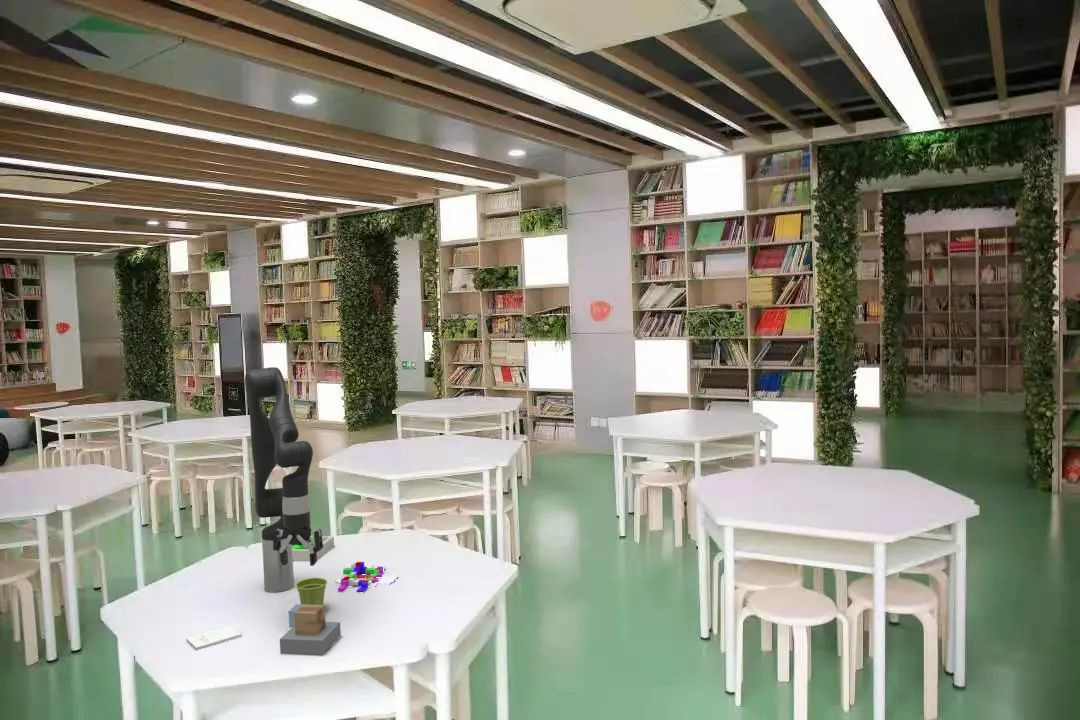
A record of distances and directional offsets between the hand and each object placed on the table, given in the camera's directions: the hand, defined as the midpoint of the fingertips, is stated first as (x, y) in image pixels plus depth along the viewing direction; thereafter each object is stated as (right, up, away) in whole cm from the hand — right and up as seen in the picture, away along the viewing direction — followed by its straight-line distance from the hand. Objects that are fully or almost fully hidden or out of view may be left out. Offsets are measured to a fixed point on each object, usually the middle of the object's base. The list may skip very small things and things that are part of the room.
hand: (298, 564), depth 225 cm
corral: (-20, -14, +67) cm, 71 cm away
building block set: (+12, -16, +38) cm, 43 cm away
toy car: (-21, -14, +69) cm, 73 cm away
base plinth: (+7, -18, -13) cm, 24 cm away
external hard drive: (-21, -20, -8) cm, 30 cm away
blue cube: (0, -18, +1) cm, 18 cm away
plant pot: (+1, -17, +11) cm, 21 cm away
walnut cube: (+7, -15, -13) cm, 21 cm away
